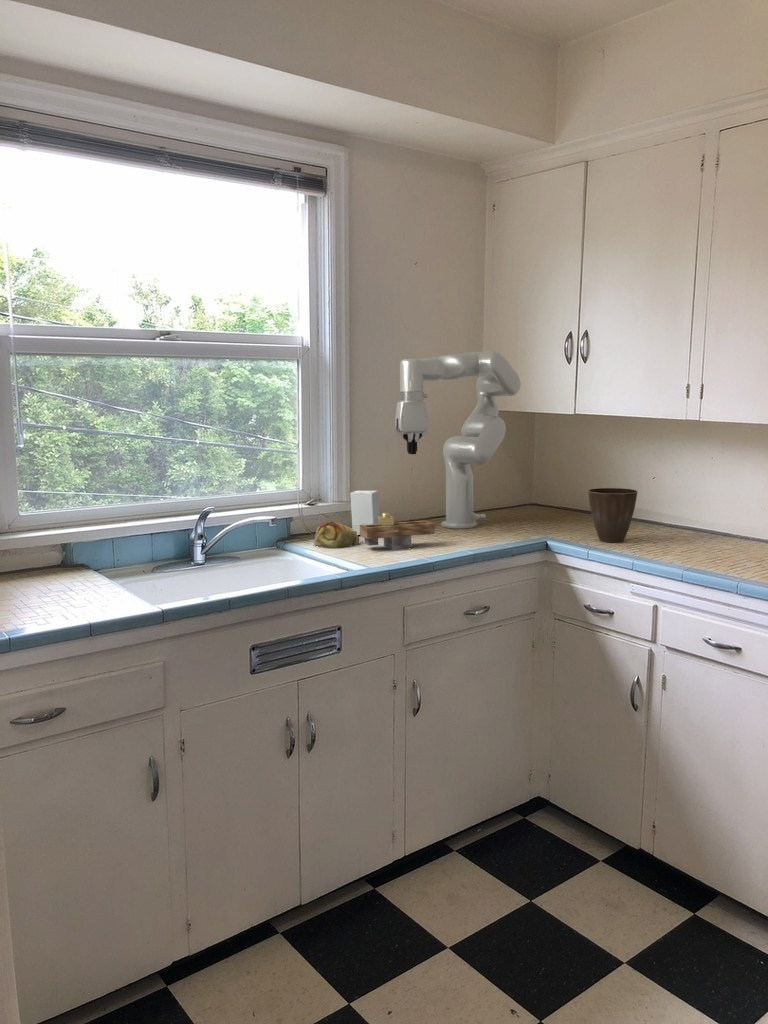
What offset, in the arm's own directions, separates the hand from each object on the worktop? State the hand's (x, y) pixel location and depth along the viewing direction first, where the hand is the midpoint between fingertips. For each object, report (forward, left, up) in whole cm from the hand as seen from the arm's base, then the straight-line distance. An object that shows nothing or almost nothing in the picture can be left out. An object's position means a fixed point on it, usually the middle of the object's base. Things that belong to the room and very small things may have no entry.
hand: (412, 453), depth 266 cm
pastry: (+28, +6, -28) cm, 40 cm away
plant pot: (-54, +34, -27) cm, 69 cm away
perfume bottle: (+16, +17, -21) cm, 31 cm away
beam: (+12, +17, -27) cm, 34 cm away
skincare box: (+14, -7, -27) cm, 31 cm away
